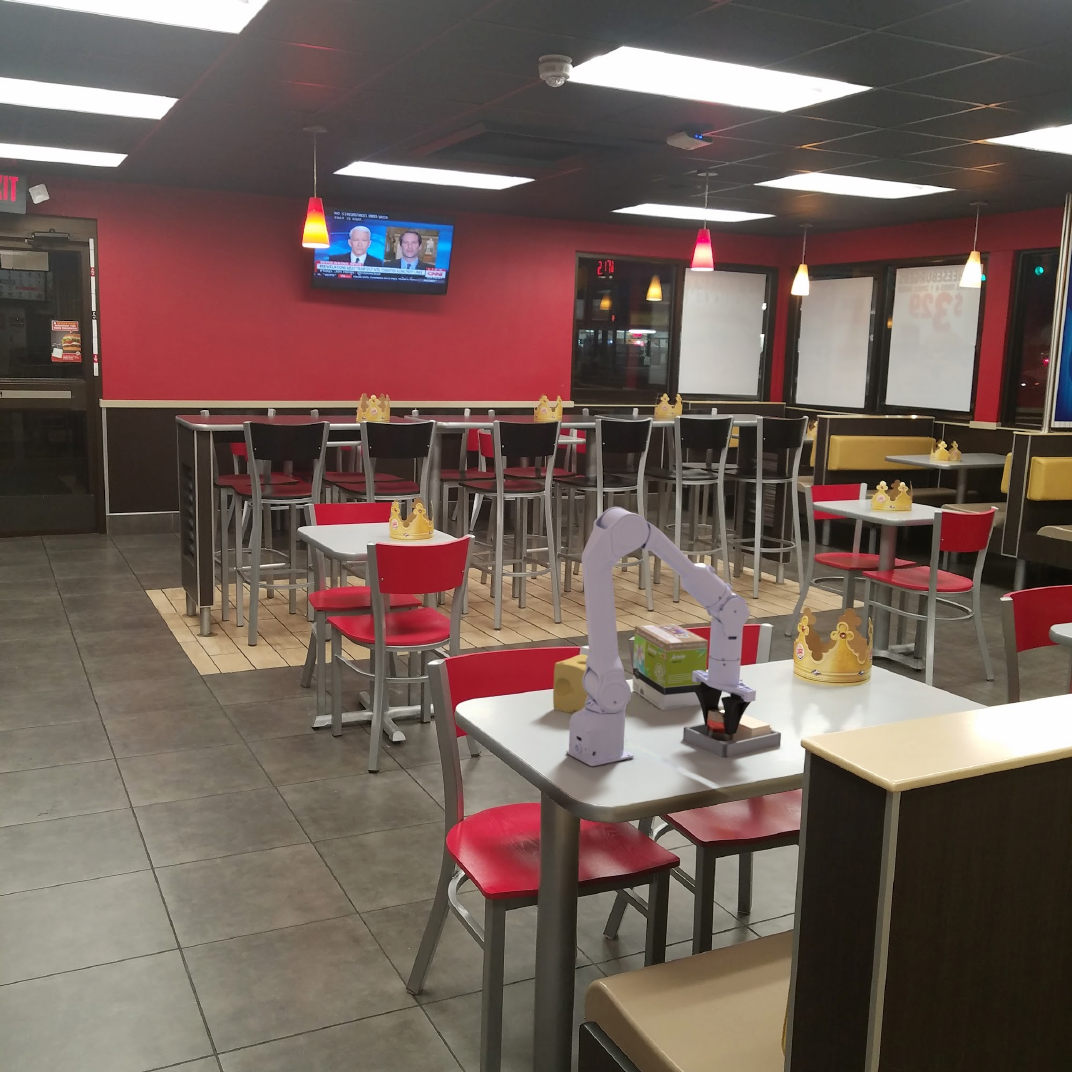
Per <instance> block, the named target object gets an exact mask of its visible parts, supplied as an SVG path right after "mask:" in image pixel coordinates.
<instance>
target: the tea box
mask: <svg viewBox="0 0 1072 1072" xmlns="http://www.w3.org/2000/svg"><path fill="white" fill-rule="evenodd" d="M633 638H634V639H633V640H634V641H633V661H632V662H633V665H632V667H633V668H632V691H633V692H636V693H637V694H638V695H641V697H642V698H645V699H646V700H647V701H648V702H650V703H651V704H653V706H655V707H657V708H658V709H660V711H661V712H666V711H672V710H677V709H681V708H682V709H683V708H687V707H693V706H701V705H700V702H699V699H698V697H697V695H696V693H695V692H694V689H695V687H699V685H700V682H693V681H692V674H693V671H698V670H702V671H705V672H707V667H708V666H707V663H708V650H709V649H708V645H709V640H708V639H705V638H704V637H701V636H700V635H697V634H696V633H694V632H691V631H690V630H688V629H685V627H682V626H680V625H678V624H676V623H675V622H674V623H672V622H671V623H663V624H662V623H661V624H652V625H651V624H650V625H635V626H634V637H633Z"/></svg>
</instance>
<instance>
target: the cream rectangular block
mask: <svg viewBox="0 0 1072 1072" xmlns="http://www.w3.org/2000/svg"><path fill="white" fill-rule="evenodd" d="M771 729H772V727H771V724H769V723H767V722H764V721H762V720H759V719H757V718H755V717H751V716H749V715H747V714H745V713H743V715H742V718H741V720H740V723H739V726H738V729H737V732H736V734H734V735H733V739H732V740H735V741H742V740H746V739H750V738H755V737H759V736H764V735H768V734H771Z"/></svg>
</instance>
